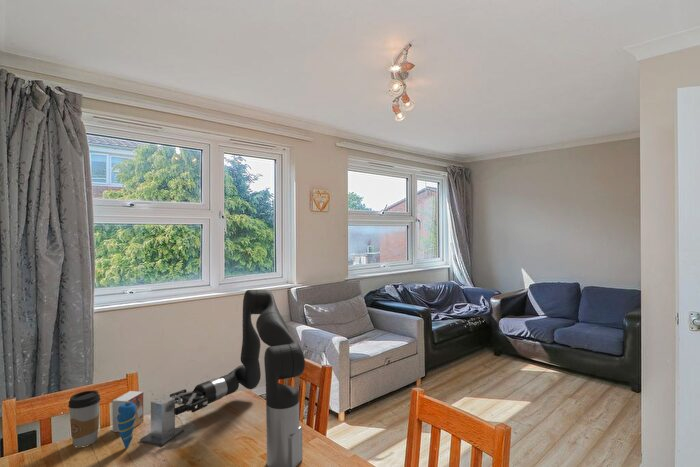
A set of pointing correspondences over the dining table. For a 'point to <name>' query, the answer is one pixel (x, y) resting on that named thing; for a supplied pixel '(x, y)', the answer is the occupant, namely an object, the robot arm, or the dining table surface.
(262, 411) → the dining table surface
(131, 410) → the ornament
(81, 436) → the coffee cup
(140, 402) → the small box
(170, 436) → the grey plate with post
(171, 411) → the brushed metal pedestal
